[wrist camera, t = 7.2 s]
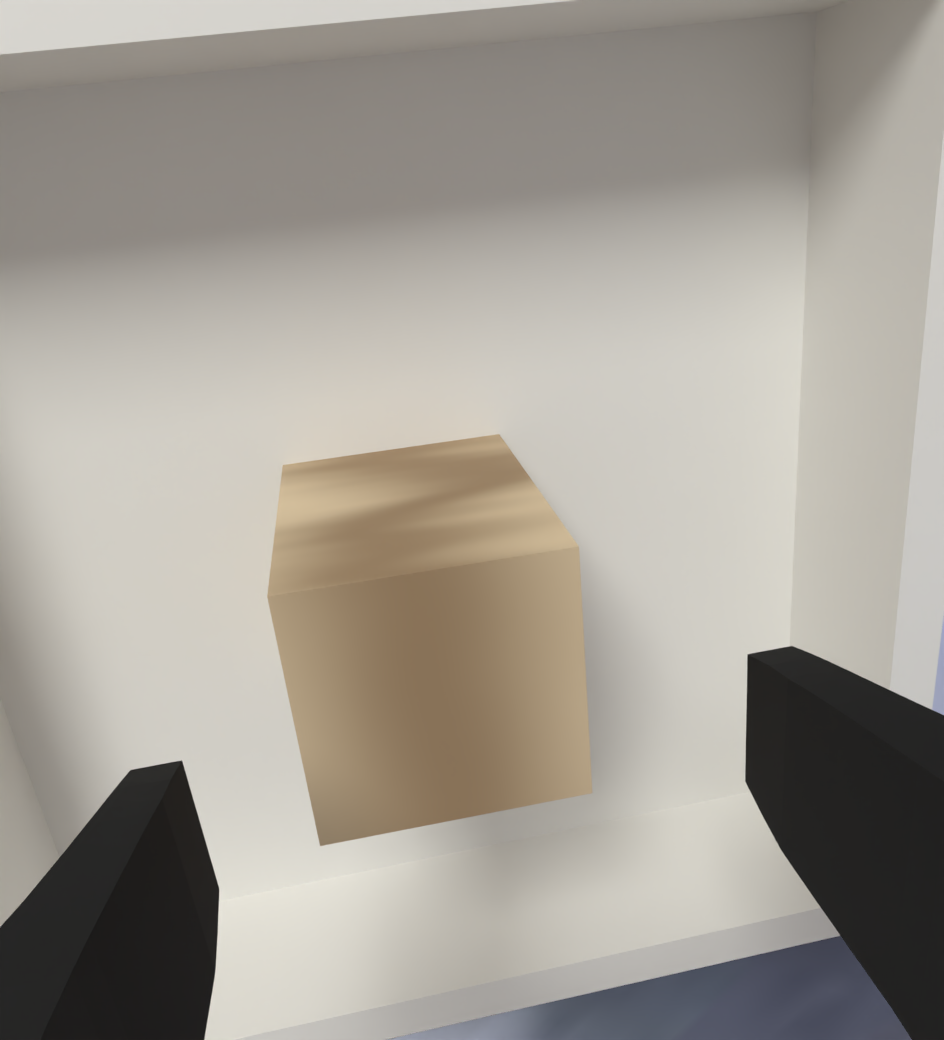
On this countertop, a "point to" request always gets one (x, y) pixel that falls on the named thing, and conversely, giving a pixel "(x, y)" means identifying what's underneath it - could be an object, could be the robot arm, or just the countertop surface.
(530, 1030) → the countertop surface
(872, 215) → the bin
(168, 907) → the robot arm
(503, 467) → the maple block
